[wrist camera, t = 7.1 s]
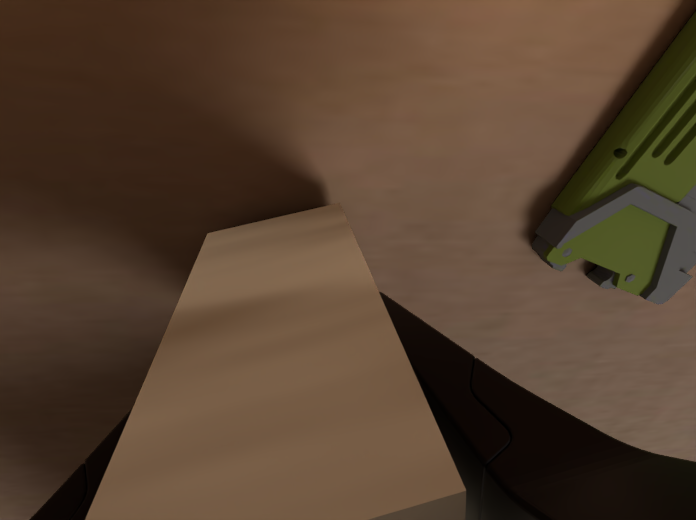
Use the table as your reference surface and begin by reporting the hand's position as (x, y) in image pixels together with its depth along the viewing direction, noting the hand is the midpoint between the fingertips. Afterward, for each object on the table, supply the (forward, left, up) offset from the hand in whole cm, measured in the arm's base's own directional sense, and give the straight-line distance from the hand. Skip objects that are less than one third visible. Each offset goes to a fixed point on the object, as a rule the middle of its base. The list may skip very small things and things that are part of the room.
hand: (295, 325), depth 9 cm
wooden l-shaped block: (-6, 0, -2) cm, 7 cm away
